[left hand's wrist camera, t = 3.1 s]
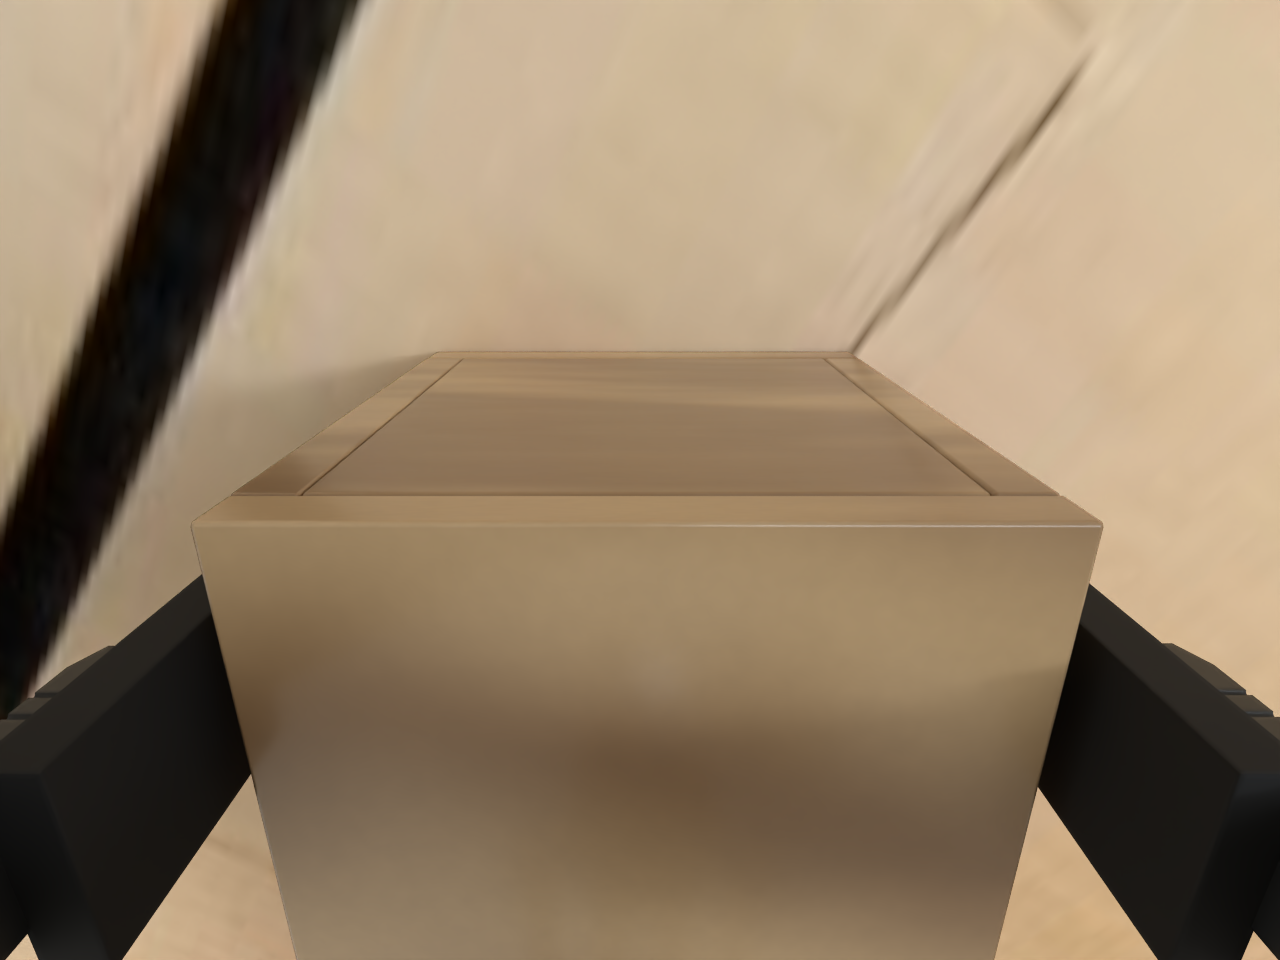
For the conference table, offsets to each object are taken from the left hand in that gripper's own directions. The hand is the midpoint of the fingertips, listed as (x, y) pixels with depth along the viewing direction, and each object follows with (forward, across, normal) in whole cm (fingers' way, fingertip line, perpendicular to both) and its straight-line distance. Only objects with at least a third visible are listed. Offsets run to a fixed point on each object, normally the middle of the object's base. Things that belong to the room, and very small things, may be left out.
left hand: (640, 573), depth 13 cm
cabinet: (+6, 0, -7) cm, 9 cm away
